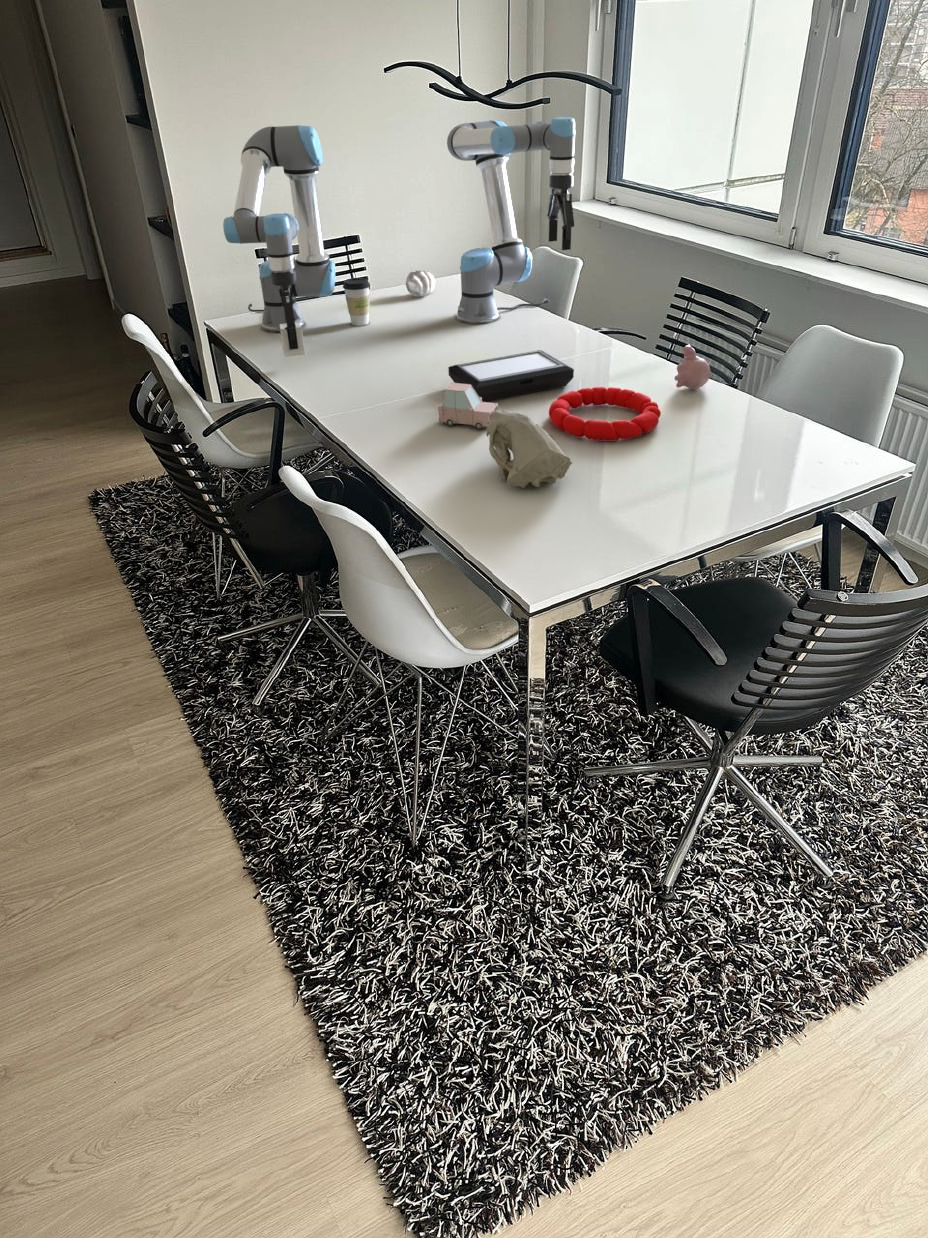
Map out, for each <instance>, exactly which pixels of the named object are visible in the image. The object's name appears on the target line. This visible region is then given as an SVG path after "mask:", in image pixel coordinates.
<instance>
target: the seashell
mask: <svg viewBox="0 0 928 1238" xmlns="http://www.w3.org/2000/svg"><path fill="white" fill-rule="evenodd" d="M405 280H406V281H405V287H406V290H407V292H408V294H410V295H411V296H413V297H415V298H416V297H426V296H429V295H430V294H431V293H432V292H433V290H434V289H435V286H436V279H435V277H434V275H433V274H432V273H430V272H429V270H415V271H410V272H409V273H408V275H407V277H406V279H405Z"/></svg>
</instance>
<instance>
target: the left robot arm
mask: <svg viewBox="0 0 928 1238" xmlns="http://www.w3.org/2000/svg"><path fill="white" fill-rule="evenodd" d="M323 157H324V156H323V150H322V145H321V141H320V138H319V134H318V133H317V130H316V129H315V128H314V127H313V126H311V125H300V124H299V125H280V126H272V125H271V126H266V127H263V128H261V129H259V130H257V131H256V132H254V134H252V136H250V138H249V139H248V140H247V141H246V143H245V144H244V146H243V148H242V151H241V155H240V164H241V166H242V167H241V173H240V180H239V184H238V190H237V194H236V195H237V196H236V199H235V206H234V212H233V215H231V216H227V217H225V218H224V219H223V223H222V228H223V234H224V238H225V240H226V241H227V242H228V243H229V244H240V245H242V244H264V243H265V244H266V251H267V259H268V260H265V261H263V262H261V263H260V265H259V266H258V270H259V271H258V272H259V281H260V287H261V292H262V293H261V294H262V299H263V309H251V307H253V304H252V303H249V304H248V306H247V308H248V311H249V312H253V313H262V312H263V313H262V319H261V326H262V330H264V331H265V332H271V333H281V331H280V324H285V323H287V327H285V329H287V334H288V341H289V348H290V350H292V349H298V342H297V335H296V325H295V322H300V324H301V327H302V328H304V326H305V319H304V317H303V314H302V312H301V310H300V307H299V306H298V305H299V304H298V303H297V298H306V297H307V298H313V297H315V298H316V297H319V298H321V297H330V296H332V295H333V293H334V290H335V286H336V263H335V261H332V260H330V255H329V253H328V252H326V251H325V248H324V237H323V232H322V231H323V230H322V221H321V214H320V204H319V197H318V187H317V179H316V176H317V175H318V174H319V172H320V168H319V167H321V166H322V165H323V163H324V158H323ZM274 167H277V168H280V167H281V168H282V169H283V174H284V175H285V176H286V177H287V178H288V179H289V185H290V193H291V200H292V207H293V214H291V213H287V212H284V213H270V214H266V215H260V213H261V212H260V211H261V207H262V200H263V195H264V188H265V184H266V177H267V174H269V173H270V171H271V168H274ZM295 238H297V244H298V254H297V255H296V257H294V251H293V242H292V241H293V240H295Z"/></svg>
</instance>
